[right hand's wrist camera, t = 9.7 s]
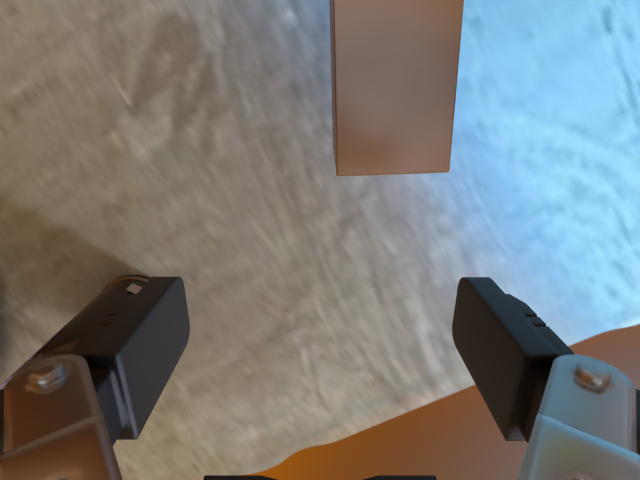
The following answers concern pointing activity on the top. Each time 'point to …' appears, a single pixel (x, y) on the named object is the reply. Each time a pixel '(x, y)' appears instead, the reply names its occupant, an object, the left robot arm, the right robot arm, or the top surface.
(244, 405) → the top surface
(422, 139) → the box
